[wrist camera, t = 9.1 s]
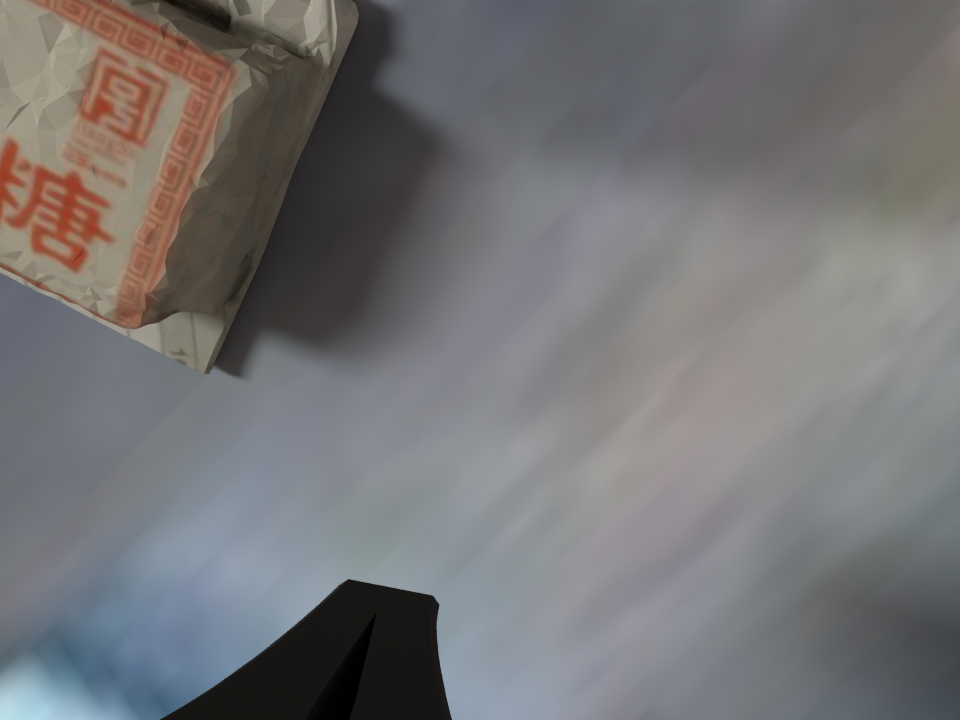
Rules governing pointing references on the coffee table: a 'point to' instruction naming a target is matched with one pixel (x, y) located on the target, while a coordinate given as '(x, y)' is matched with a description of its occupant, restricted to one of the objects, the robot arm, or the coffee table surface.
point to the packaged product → (156, 152)
